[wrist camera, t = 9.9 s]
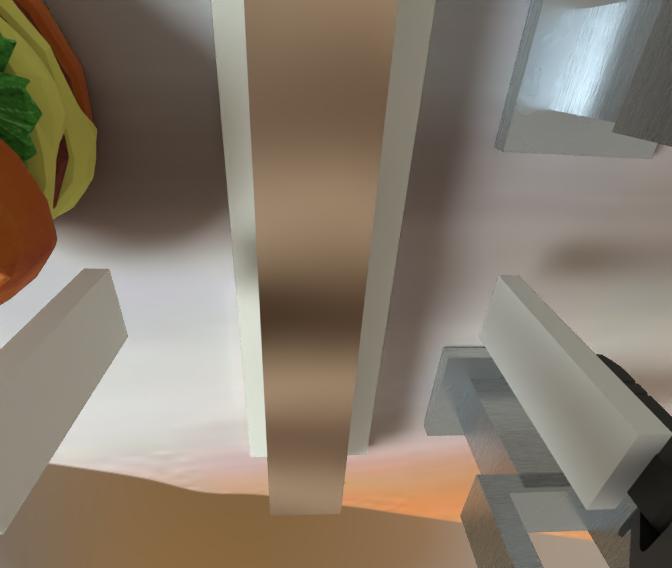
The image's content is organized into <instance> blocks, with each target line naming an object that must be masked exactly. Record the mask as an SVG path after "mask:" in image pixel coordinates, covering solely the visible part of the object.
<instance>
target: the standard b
mask: <svg viewBox="0 0 672 568" xmlns="http://www.w3.org/2000/svg"><path fill="white" fill-rule="evenodd" d="M658 143H659V144H664V145H668V146H672V0H532V2H531V6H530V9H529V13H528V17H527V21H526V25H525V29H524V33H523V37H522V41H521V45H520V49H519V53H518V57H517V61H516V64H515V68H514V72H513V76H512V80H511V84H510V88H509V92H508V96H507V100H506V104H505V108H504V112H503V116H502V119H501V123H500V127H499V131H498V135H497V139H496V143H495V147H494V148H497V149H499V150H501V151H503V152H521V153H542V154H562V155H583V156H603V157H623V158H644V159H651V158H652V156H653V153H654V151H655V149H656V147H657V145H658Z"/></svg>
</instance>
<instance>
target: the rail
mask: <svg viewBox="0 0 672 568" xmlns="http://www.w3.org/2000/svg"><path fill="white" fill-rule="evenodd" d="M397 8H398V0H244V13H245V33H246V52H247V72H248V91H249V110H250V130H251V149H252V169H253V188H254V208H255V227H256V247H257V266H258V286H259V305H260V325H261V344H262V364H263V383H264V403H265V422H266V442H267V461H268V480H269V500H270V516H277V515H311V514H340V513H341V505H342V496H343V487H344V478H345V470H346V461H347V452H348V443H349V434H350V425H351V416H352V408H353V399H354V390H355V381H356V372H357V363H358V354H359V345H360V337H361V328H362V319H363V310H364V301H365V292H366V283H367V274H368V266H369V257H370V248H371V239H372V230H373V221H374V212H375V204H376V195H377V186H378V177H379V168H380V159H381V150H382V141H383V133H384V124H385V115H386V106H387V97H388V88H389V79H390V70H391V62H392V53H393V44H394V35H395V26H396V17H397Z"/></svg>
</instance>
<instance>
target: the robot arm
mask: <svg viewBox="0 0 672 568" xmlns="http://www.w3.org/2000/svg"><path fill="white" fill-rule="evenodd" d="M127 337H128V335H127V331H126V327H125V324H124V320H123V317H122V313H121V309H120V306H119V302H118V299H117V295H116V291H115V288H114V284H113V280H112V277H111V273H110V270H109V269H83V270H82V271H81V272H80V273H79V274H78V275H77V276H76V277H75V278H74V279H73V280H72V281H71V282H70V283H69V284H68V285H67V286H66V287H65V288H64V289H63V290H62V291H61V292H60V293H58V294H57V295H56V296H55V297H54V298H53V299H52V300H51V301H50V302H49V303H48V304H47V305H46V306H45V307H44V308H43V309H42V310H41V311H40V312H39V313H38V314H37V315H36V316H35V317H34V318H33V319H32V320H31V321H29V322H28V323H27V324H26V325H25V326H24V327H23V328H22V329H21V330H20V331H19V332H18V333H17V334H16V335H15V336H14V337H13V338H12V339H11V340H10V341H9V342H8V343H7V344H6V345H5V346H4V347H3V348H1V349H0V534H4V532H5V531H6V529H7V528H8V526H9V524H10V523H11V521H12V520H13V518H14V516H15V515H16V513H17V512H18V510H19V509H20V507H21V505H22V504H23V502H24V501H25V499H26V498H27V496H28V494H29V493H30V491H31V490H32V488H33V486H34V484H35V483H36V482H37V480H38V478H39V477H40V475H41V473H42V472H43V470H44V469H45V467H46V466H47V464H48V463H49V461H50V459H51V458H52V456H53V455H54V453H55V452H56V450H57V448H58V447H59V445H60V444H61V442H62V440H63V439H64V437H65V436H66V434H67V432H68V431H69V429H70V428H71V426H72V425H73V423H74V421H75V420H76V418H77V417H78V415H79V413H80V412H81V410H82V409H83V407H84V405H85V404H86V402H87V401H88V399H89V398H90V396H91V394H92V393H93V391H94V390H95V388H96V386H97V385H98V383H99V382H100V380H101V378H102V377H103V375H104V374H105V372H106V371H107V369H108V367H109V366H110V364H111V363H112V361H113V359H114V358H115V356H116V355H117V353H118V351H119V350H120V348H121V347H122V345H123V344H124V342H125V340H126V339H127ZM479 338H480V339H481V341H482V342H483V344H484V346H485V347H486V349H487V351H488V352H489V354H490V355H491V357H492V359H493V360H494V362H495V363H496V365H497V367H498V368H499V370H500V371H501V373H502V375H503V376H504V378H505V380H506V381H507V383H508V384H509V386H510V388H511V389H512V391H513V392H514V394H515V396H516V397H517V399H518V400H519V402H520V404H521V405H522V407H523V409H524V410H525V412H526V413H527V415H528V417H529V418H530V420H531V421H532V423H533V425H534V426H535V428H536V429H537V431H538V433H539V434H540V436H541V438H542V439H543V441H544V442H545V444H546V446H547V447H548V449H549V450H550V452H551V454H552V455H553V457H554V458H555V460H556V462H557V463H558V465H559V467H560V468H561V470H562V471H563V473H564V475H565V476H566V478H567V479H568V481H569V483H570V484H571V486H572V487H573V489H574V491H575V492H576V494H577V496H578V497H579V499H580V500H581V502H582V504H583V505H584V507H585V508H586V510H597V509H616V508H617V507H618V505H619V504H620V503H621V501H622V500H623V499H624V498H625V496H626V495H627V494H628V495H629V496H630V498H631V499H632V500H633V502H634V503H635V504H636V506H637V508H636V509H635V510H634V511H633V513H632V514H631V515H630V516H629V518H628V519H627V520H626V521H625V522H624V524H623V525H622V526H621V527H620V529H619V532H618V534H617V535H619V536H621V537H624V535H625V534H626V533H627V532H628V531H629V530H631V538H630V558H629V568H672V417H671V416H670V415H669V414H668V413H667V412H666V411H665V410H664V409H663V408H662V407H661V406H660V405H659V404H658V403H657V402H656V401H655V400H654V399H653V398H652V397H651V396H648V395H647V392H646V391H645V390H644V389H643V388H642V387H641V386H640V385H639V384H636V383H635V380H634V379H633V378H632V377H631V376H630V375H629V374H628V373H627V372H626V371H625V370H624V369H623V368H622V367H621V366H619V365H617V364H616V363H614V362H613V361H611V360H610V359H608V358H607V357H605V356H603V355H602V354H595V353H594V352H593V351H592V350H591V349H590V348H589V347H588V346H587V345H586V344H585V343H584V342H583V341H582V340H581V339H580V338H579V337H578V336H577V335H576V334H575V333H574V332H573V331H572V330H571V329H570V328H569V327H568V326H567V325H566V323H565V322H564V321H563V320H562V319H561V318H560V317H559V316H558V315H557V314H556V313H555V312H554V311H553V310H552V309H551V308H550V307H549V306H548V305H547V304H546V303H545V302H544V301H543V300H542V299H541V298H540V297H539V296H538V295H537V294H536V293H535V292H534V291H533V290H532V289H531V288H530V287H529V286H528V285H527V283H526V282H525V281H524V280H523V279H522V278H521V277H520V276H498V279H497V282H496V285H495V288H494V291H493V294H492V298H491V301H490V304H489V307H488V310H487V313H486V317H485V320H484V323H483V326H482V329H481V333H480V336H479Z"/></svg>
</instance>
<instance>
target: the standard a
mask: <svg viewBox="0 0 672 568" xmlns="http://www.w3.org/2000/svg"><path fill="white" fill-rule="evenodd" d="M424 427H425V430H426V433H427V436H442V435H465V437H466V439H467V441H468V444H469V446H470V449H471V451H472V453H473V456H474V458H475V461H476V463H477V465H478V468H479V470H480V473H481V475H476V477H475V480H474V482H473V485H472V488H471V490H470V493H469V495H468V498H467V500H466V503H465V505H464V508H463V510H462V513H461V515H460V516H461V519H462V522H463V525H464V528H465V531H466V534H467V537H468V540H469V543H470V546H471V549H472V552H473V555H474V558H475V561H476V564H477V567H478V568H544V567H543V565H542V563H541V561H540V559H539V557H538V555H537V552H536V550H535V548H534V546H533V544H532V542H531V539H530V537H529V535H528V533H533V532H560V531H587V530H588V532H589V534H590V535H591V537H592V539H593V540H594V542H595V544H596V545H597V547H598V549H599V550H600V552H601V554H602V555H603V557H604V559H605V561H606V562H607V564H608V566H609V567H610V568H629V558H630V538H631V530H629V531H628V532H627V533H626V534H625V535H624V537H621V536H619V535H617V534H618V532H619V529H620V527H621V526H622V525H623V524H624V522H625V521H626V520H627V519H628V518H629V516H630V515H631V514H632V513H633V511H634V510H635V509H636V508H637V506H636V504H635V503H634V502H633V500H632V499H631V498H630V496H629V495H628V494H627V495H626V496H625V498H624V499H623V500H622V501H621V503H620V504H619V505H618V507H617V508H616V509H597V510H586V508H585V507H584V505H583V504H582V502H581V500H580V499H579V497H578V496H577V494H576V492H575V491H574V489H573V487H572V486H571V484H570V483H569V481H568V479H567V478H566V476H565V475H564V473H563V471H562V470H561V468H560V467H559V465H558V463H557V462H556V460H555V458H554V457H553V455H552V454H551V452H550V450H549V449H548V447H547V446H546V444H545V442H544V441H543V439H542V438H541V436H540V434H539V433H538V431H537V429H536V428H535V426H534V425H533V423H532V421H531V420H530V418H529V417H528V415H527V413H526V412H525V410H524V409H523V407H522V405H521V404H520V402H519V400H518V399H517V397H516V396H515V394H514V392H513V391H512V389H511V388H510V386H509V384H508V383H507V381H506V380H505V378H504V376H503V375H502V373H501V371H500V370H499V368H498V367H497V365H496V363H495V362H494V360H493V359H492V357H491V355H490V354H489V352H488V351H487V349H486V348H471V347H443V351H442V355H441V359H440V363H439V367H438V371H437V375H436V379H435V383H434V387H433V391H432V395H431V399H430V402H429V406H428V410H427V414H426V418H425V422H424Z"/></svg>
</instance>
